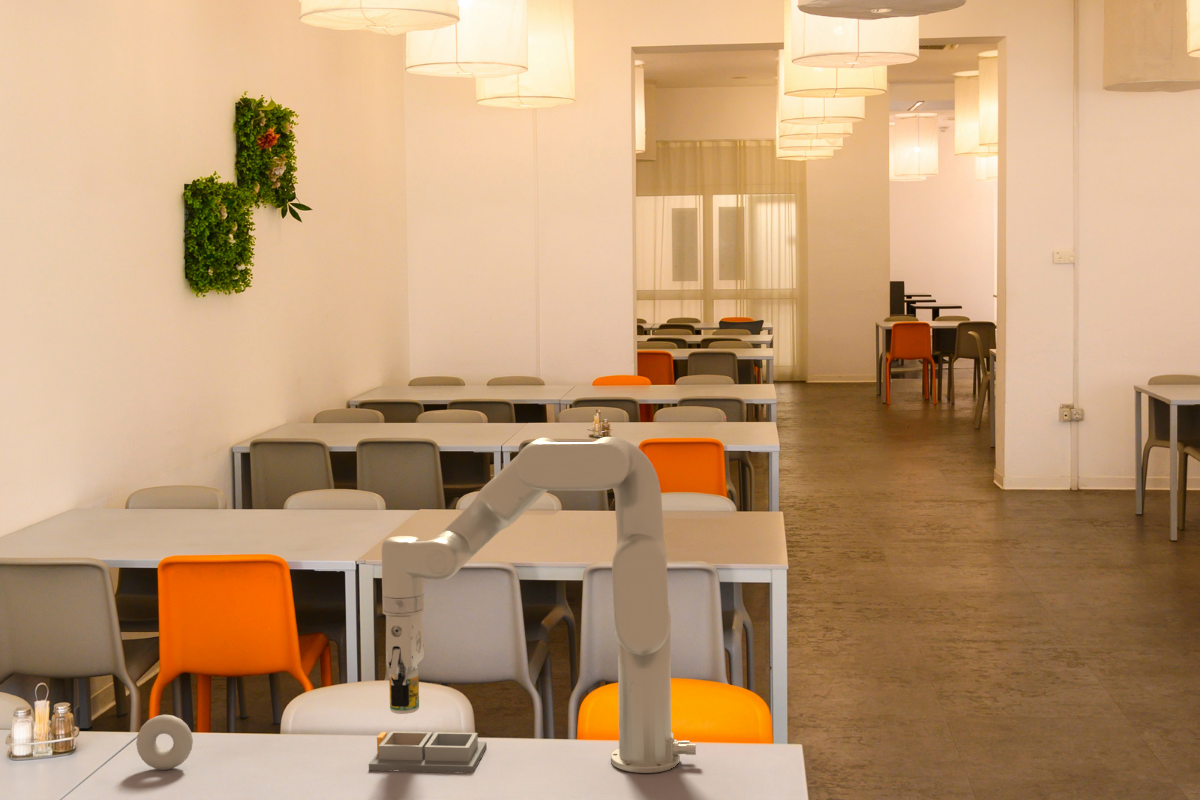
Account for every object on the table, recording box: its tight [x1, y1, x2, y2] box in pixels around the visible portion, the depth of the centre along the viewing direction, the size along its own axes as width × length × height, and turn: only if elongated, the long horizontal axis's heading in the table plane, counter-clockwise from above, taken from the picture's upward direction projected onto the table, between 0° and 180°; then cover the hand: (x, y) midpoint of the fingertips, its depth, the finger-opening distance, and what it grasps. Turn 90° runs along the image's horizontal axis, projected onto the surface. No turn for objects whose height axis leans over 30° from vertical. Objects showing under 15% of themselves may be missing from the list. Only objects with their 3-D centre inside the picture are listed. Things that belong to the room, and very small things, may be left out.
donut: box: [135, 714, 194, 771], centre depth 214 cm, size 10×4×10 cm, turn 92°
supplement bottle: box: [388, 664, 420, 715], centre depth 218 cm, size 5×5×10 cm
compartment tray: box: [368, 730, 487, 774], centre depth 218 cm, size 19×13×4 cm
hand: (404, 699), depth 218 cm, fingers closed on supplement bottle, 5 cm apart
